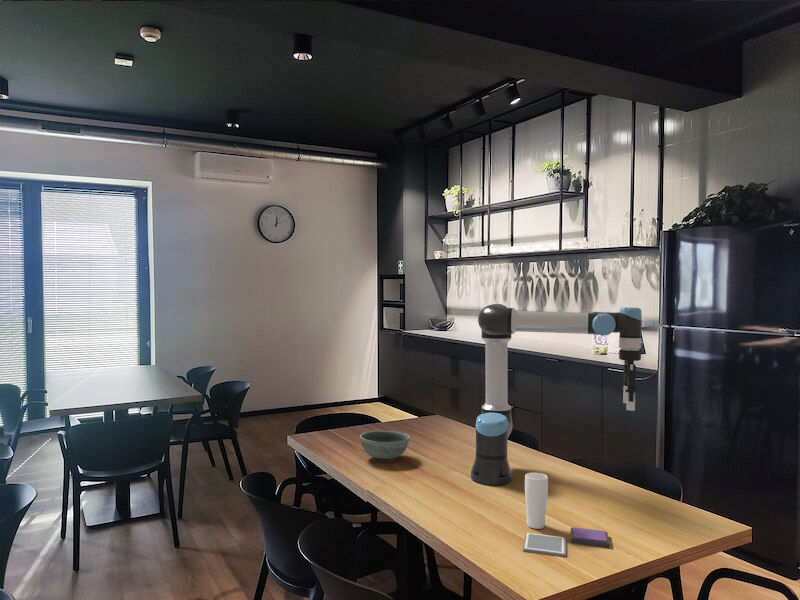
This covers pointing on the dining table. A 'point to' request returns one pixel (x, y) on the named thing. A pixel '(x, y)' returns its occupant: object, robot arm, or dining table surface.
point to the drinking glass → (536, 499)
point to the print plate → (545, 544)
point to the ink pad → (589, 537)
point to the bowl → (384, 444)
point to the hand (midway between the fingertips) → (628, 406)
